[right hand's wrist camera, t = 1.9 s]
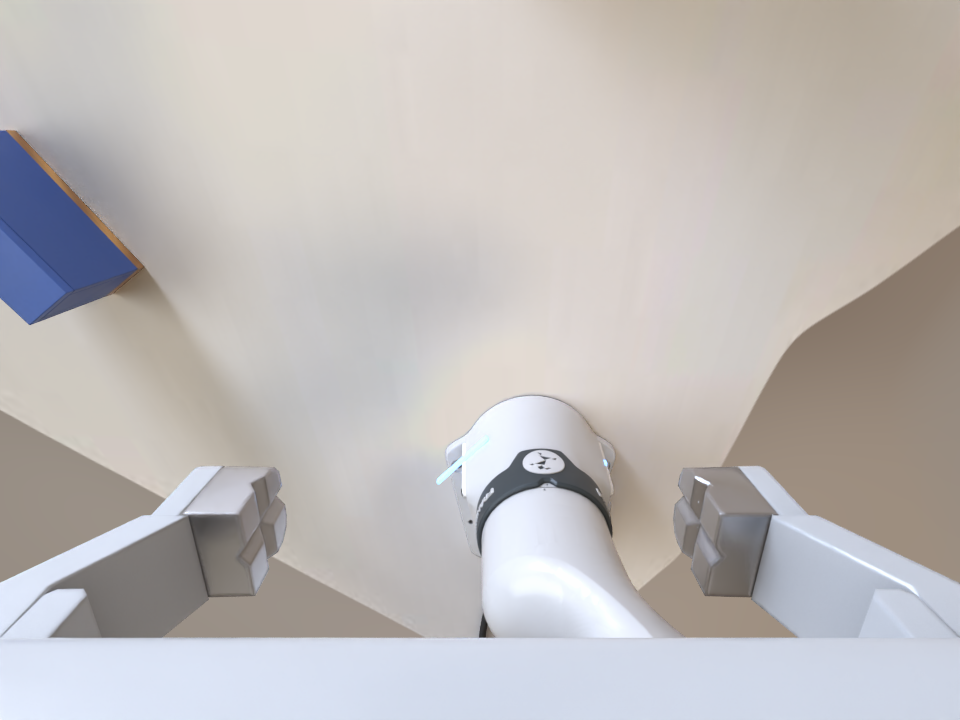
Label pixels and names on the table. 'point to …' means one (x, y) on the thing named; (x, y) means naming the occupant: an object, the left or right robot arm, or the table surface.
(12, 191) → the chest
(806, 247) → the table surface
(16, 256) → the lid
